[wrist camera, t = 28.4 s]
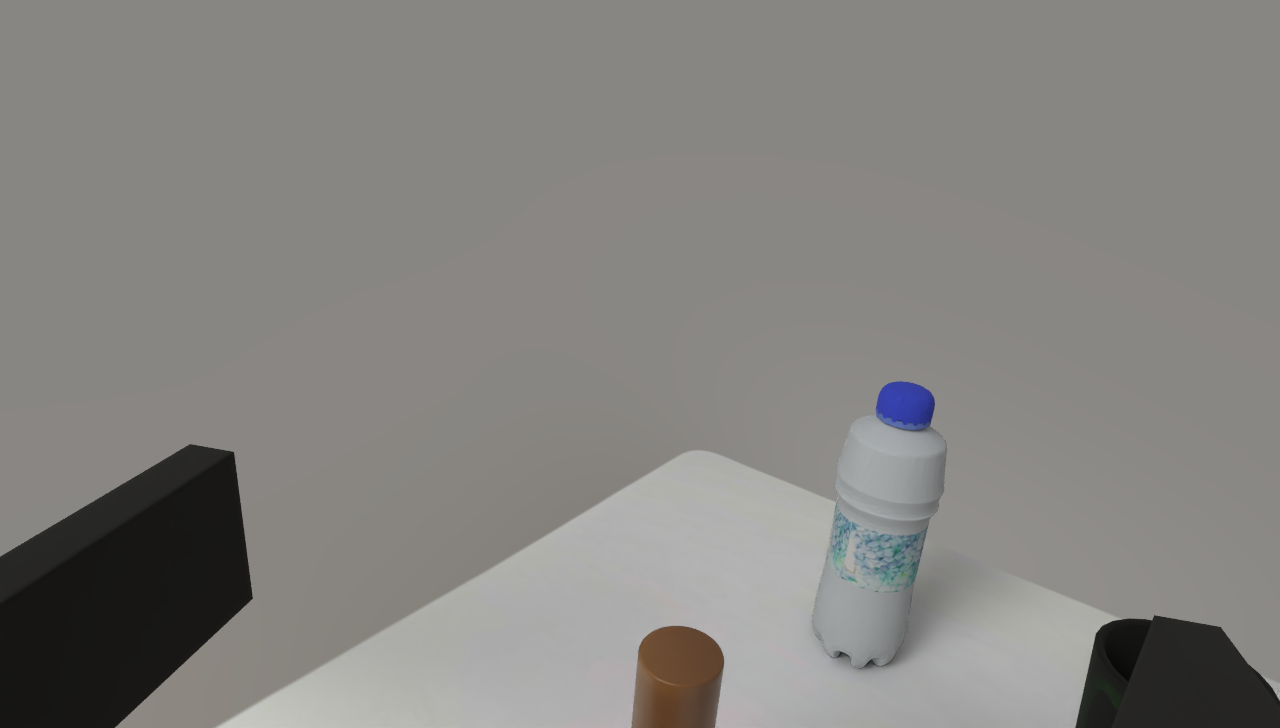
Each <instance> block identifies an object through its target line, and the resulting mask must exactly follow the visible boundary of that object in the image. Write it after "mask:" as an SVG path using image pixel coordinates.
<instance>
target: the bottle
mask: <svg viewBox="0 0 1280 728" xmlns="http://www.w3.org/2000/svg"><path fill="white" fill-rule="evenodd" d="M934 406H935V402H934V397H933V395H932V394H931V392H930V391H928V390H927V389H925V388H924V387H922V386H920V385H917V384H914V383H909V382H892V383H889V384H887V385H885V386H884V387H883V388H882V390H881V391H880V393H879V397H878V401H877V406H876V414H873V415H868V416H863V417H861V418H858V419H857V420H855V421H854V422H853V424H852V425H851V427H850V430H849V433H848V437H847V439H846V442H845V445H844V448H843V451H842V453H841V456H840V459H839V461H838V463H837V478H836V480H835V489H836V492H837V494H838V499H837V502H836V508H835V513H834V518H833V524H832V529H831V534H830V540H829V545H828V550H827V556H826V561H825V566H824V569H823V573H822V576H821V580H820V583H819V587H818V591H817V595H816V599H815V603H814V610H813V630H814V633H815V635H816V637H817V638H818V639H819V640H821V641H823V646H824V649H825V651H826V653H827V654H828V655H830V656H831V657H833V658H836V657H838V656H839V654H840V651H841V652H843V653H845V654H848V655H849V657H850V658H851V665H852V666H853V667H856V668H862V667H864V666H865V665H866V664H867V663H868V662H869V661H870V660H871V659H872V661H873V662H874V663H875V664H876V665H878V666H882V665H885V664H887V663H888V662H890V661H891V660H892V658H893V657H894V656H895V654H896V652H897V650H898V648H899V647H900V645H901V643H902V642H903V639H904V636H905V633H906V630H907V624H908V619H909V613H910V606H911V599H912V592H913V586H914V582H915V578H916V574H917V570H918V566H919V562H920V557H921V553H922V549H923V545H924V541H925V537H926V532H927V528H928V524H929V519H930V518H931V517H932V516H933V515H934V514H935V513H936V512H937V510H938V507H939V499H940V497H941V496H942V494H943V491H944V475H945V463H946V452H947V444H946V441H945V439H944V438H943V436H942V435H941V434H940V433H939V432H937V431H936V430H934V429H933V428H931V427H930V423H931V419H932V416H933V411H934Z"/></svg>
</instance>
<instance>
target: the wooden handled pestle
mask: <svg viewBox="0 0 1280 728" xmlns="http://www.w3.org/2000/svg"><path fill="white" fill-rule="evenodd" d="M723 668H724V656H723V653H722V651H721V649H720V647H719V645H718V644H717V643H716V642H715V641H714V640H713V639H712V638H711V637H710V636H708V635H707V634H705V633H703V632H701V631H699V630H696V629H693V628H690V627H684V626H668V627H663V628H659V629H657V630H655V631H653V632H651V633H650V634H648V635H647V636H646V637H645V638H644V639H643V641H642V642H641V644H640V647H639V651H638V662H637V673H636V684H635V695H634V705H633V716H632V727H631V728H715V724H716V717H717V710H718V703H719V696H720V689H721V682H722V675H723Z"/></svg>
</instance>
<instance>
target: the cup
mask: <svg viewBox="0 0 1280 728" xmlns="http://www.w3.org/2000/svg"><path fill="white" fill-rule="evenodd" d="M1151 623H1152V621H1151V620H1146V619H1123V620H1116V621H1112V622H1110V623H1108V624H1106V625H1103V626H1102V627H1101V628H1100V629H1099V631H1098V632H1097V633H1096V637H1095V641H1094V646H1093V650H1092V655H1091V659H1090V664H1089V669H1088V673H1087V678H1086V682H1085V687H1084V692H1083V696H1082V701H1081V705H1080V710H1079V714H1078V719H1077V724H1076V728H1111V727H1112V725H1113V722H1114V719H1115V717H1116V714H1117V712H1118V709H1119V706H1120V704H1121V701H1122V699H1123V696H1124V693H1125V691H1126V688H1127V685H1128V683H1129V680H1130V678H1131V675H1132V672H1133V670H1134V667H1135V665H1136V662H1137V659H1138V657H1139V654H1140V652H1141V649H1142V646H1143V644H1144V641H1145V638H1146V636H1147V633H1148V631H1149V628H1150V625H1151ZM1249 666H1250V665H1249ZM1250 667H1251V666H1250ZM1251 669H1252V670H1253V671H1254V673H1255V674H1256V675H1257V677H1258V678H1259V679H1260V681H1261V682H1262V683H1263V685H1264V686H1265V687H1266V689H1267V690H1268V691H1269V693H1270V694H1271V696H1272V697H1273V698H1274V700H1275V701H1276V702H1277V704H1278V705H1279V706H1280V701H1279V699H1278V697H1277V696H1276V694H1275V692H1274V690H1273V689H1272V687H1271V686H1270V685H1269V684H1268V683H1267V682H1266V681H1265V679H1264V678H1263V677H1262V676H1261V675H1260V674H1259V673H1258V672H1257V671H1256V670H1254V669H1253V668H1252V667H1251Z"/></svg>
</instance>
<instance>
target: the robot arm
mask: <svg viewBox="0 0 1280 728" xmlns="http://www.w3.org/2000/svg"><path fill="white" fill-rule="evenodd" d="M252 599H253V597H252V589H251V581H250V574H249V565H248V558H247V550H246V542H245V535H244V527H243V519H242V511H241V503H240V495H239V488H238V480H237V472H236V465H235V457H234V452H231V451H225V450H220V449H214V448H208V447H203V446H197V445H191V444H190V445H188V446H186V447H185V448H183V449H181V450H180V451H178V452H176V453H175V454H173V455H171V456H170V457H168V458H166V459H165V460H163V461H161V462H160V463H158V464H156V465H154V466H153V467H151V468H149V469H148V470H146V471H144V472H143V473H141V474H139V475H137V476H136V477H134V478H132V479H131V480H129V481H127V482H126V483H124V484H122V485H121V486H119V487H117V488H116V489H114V490H112V491H111V492H109V493H107V494H105V495H104V496H102V497H100V498H99V499H97V500H95V501H94V502H92V503H90V504H89V505H87V506H85V507H83V508H82V509H80V510H78V511H77V512H75V513H73V514H72V515H70V516H68V517H67V518H65V519H63V520H61V521H60V522H58V523H56V524H55V525H53V526H51V527H50V528H48V529H46V530H45V531H43V532H41V533H40V534H38V535H36V536H34V537H33V538H31V539H29V540H28V541H26V542H24V543H23V544H21V545H19V546H18V547H16V548H14V549H12V550H11V551H9V552H7V553H6V554H4V555H2V556H1V557H0V728H115V727H116V726H117V725H118V724H119V723H120V722H121V721H122V720H123V719H125V717H127V716H128V715H129V714H130V713H131V712H132V711H133V710H134V709H135V708H136V707H137V706H138V705H140V704H141V703H142V701H144V700H145V699H146V698H147V697H148V696H149V695H150V694H151V693H152V692H153V691H154V690H156V689H157V688H158V687H159V686H160V685H161V684H162V683H163V682H164V681H165V680H166V679H167V678H168V677H169V676H170V675H172V673H174V672H175V671H176V670H177V669H178V668H179V667H180V666H181V665H182V664H183V663H184V662H185V661H187V659H189V658H190V657H191V656H192V655H193V654H194V653H195V652H196V651H197V650H198V649H199V648H200V647H202V645H204V644H205V643H206V642H207V641H208V640H209V639H210V638H211V637H212V636H213V635H214V634H215V633H216V632H218V631H219V630H220V629H221V628H222V627H223V626H224V625H225V624H226V623H227V622H228V621H229V620H230V619H231V618H232V617H234V616H235V615H236V614H237V613H238V612H239V611H240V610H241V609H242V608H243V607H244V606H245V605H246V604H247V603H248V602H250V600H252ZM1111 728H1280V706H1279V705H1278V704H1277V702H1276V701H1275V700H1274V698H1273V697H1272V696H1271V694H1270V693H1269V691H1268V690H1267V689H1266V687H1265V686H1264V685H1263V683H1262V682H1261V681H1260V679H1259V678H1258V677H1257V675H1256V674H1255V673H1254V671H1253V670H1252V669H1251V667H1250V666H1249V665H1248V664H1247V662H1246V661H1245V659H1244V658H1243V657H1242V656H1241V654H1240V653H1239V651H1238V650H1237V649H1236V647H1235V646H1234V645H1233V643H1232V642H1231V641H1230V639H1229V638H1228V637H1227V635H1226V634H1225V633H1224V631H1223V630H1222V629H1221V627H1217V626H1211V625H1206V624H1200V623H1194V622H1189V621H1183V620H1177V619H1171V618H1166V617H1160V616H1154V618H1153V620H1152V623H1151V625H1150V628H1149V631H1148V633H1147V636H1146V638H1145V641H1144V644H1143V646H1142V649H1141V652H1140V654H1139V657H1138V659H1137V662H1136V665H1135V667H1134V670H1133V672H1132V675H1131V678H1130V680H1129V683H1128V685H1127V688H1126V691H1125V693H1124V696H1123V699H1122V701H1121V704H1120V706H1119V709H1118V712H1117V714H1116V717H1115V719H1114V722H1113V725H1112V727H1111Z"/></svg>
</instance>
